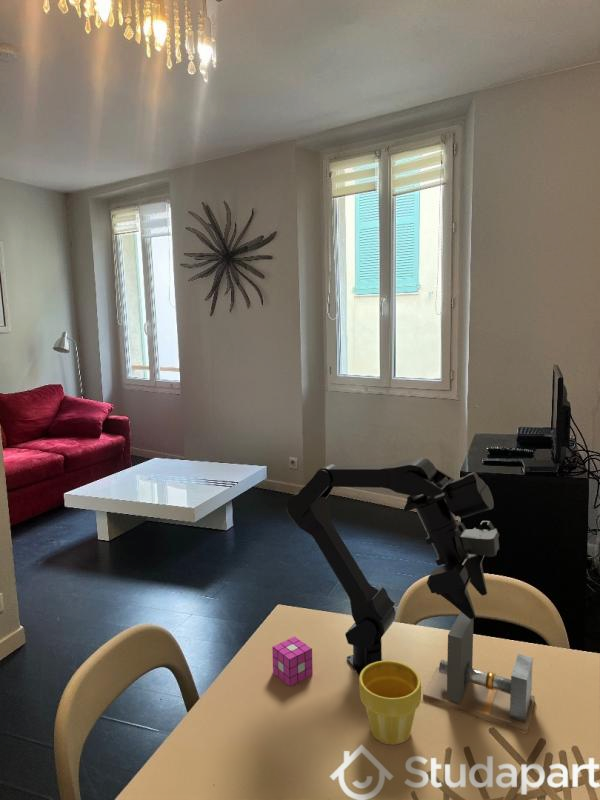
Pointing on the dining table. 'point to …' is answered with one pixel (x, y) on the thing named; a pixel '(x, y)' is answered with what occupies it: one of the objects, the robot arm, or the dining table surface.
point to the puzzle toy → (292, 661)
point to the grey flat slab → (459, 656)
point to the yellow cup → (390, 699)
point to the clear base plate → (477, 702)
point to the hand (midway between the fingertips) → (479, 606)
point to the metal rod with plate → (505, 684)
